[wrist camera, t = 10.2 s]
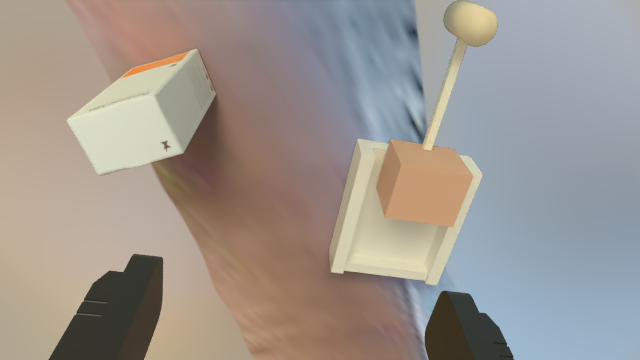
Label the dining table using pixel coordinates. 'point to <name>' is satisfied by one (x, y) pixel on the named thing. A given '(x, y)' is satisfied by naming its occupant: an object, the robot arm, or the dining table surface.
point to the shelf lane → (389, 226)
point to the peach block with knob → (425, 159)
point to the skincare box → (145, 114)
